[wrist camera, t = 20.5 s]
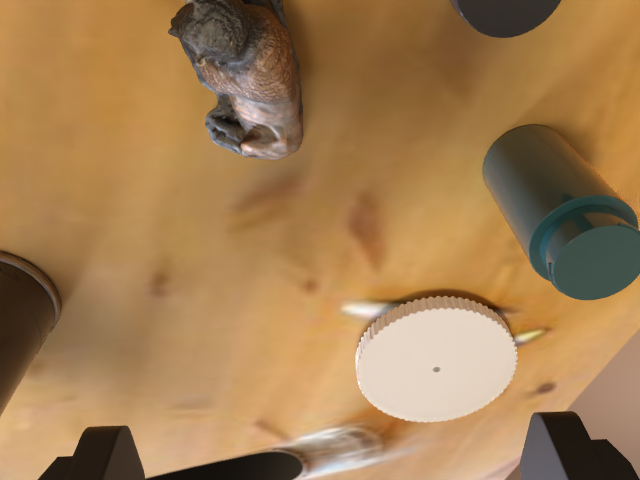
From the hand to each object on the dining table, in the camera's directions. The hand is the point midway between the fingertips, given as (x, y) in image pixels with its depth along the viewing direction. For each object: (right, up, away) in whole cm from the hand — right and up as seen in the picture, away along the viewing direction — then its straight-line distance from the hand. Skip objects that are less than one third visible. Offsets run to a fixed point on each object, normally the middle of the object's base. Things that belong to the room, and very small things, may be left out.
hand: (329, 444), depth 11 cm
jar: (+15, +10, +30) cm, 35 cm away
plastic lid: (+10, -6, +40) cm, 42 cm away
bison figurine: (-5, +16, +26) cm, 31 cm away
